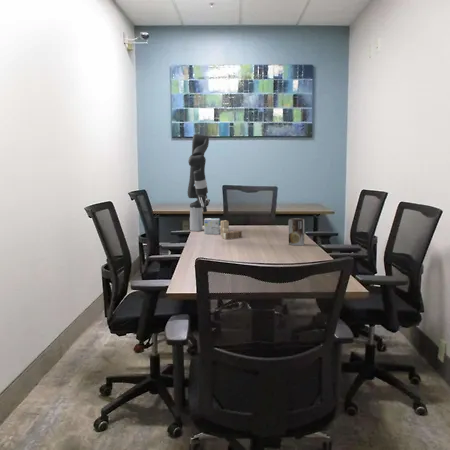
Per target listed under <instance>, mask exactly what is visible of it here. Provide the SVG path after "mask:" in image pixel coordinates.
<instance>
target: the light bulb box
mask: <svg viewBox="0 0 450 450" xmlns="http://www.w3.org/2000/svg"><path fill="white" fill-rule="evenodd" d="M203 230H204V232H203V234H204V235H220V234H221V219H220V217H217V218H215V217H212V218H210V217H209V218H208V217H207V218H204V219H203Z"/></svg>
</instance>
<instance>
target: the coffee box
mask: <svg viewBox="0 0 450 450" xmlns="http://www.w3.org/2000/svg"><path fill="white" fill-rule="evenodd" d="M305 222H306V221H305V218H301V217H300V218H299V217H295V218H294V217H293V218H292V217H290V218H289V219H288V244H287V245H288V246H304V245H305Z"/></svg>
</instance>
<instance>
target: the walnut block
mask: <svg viewBox="0 0 450 450" xmlns="http://www.w3.org/2000/svg"><path fill="white" fill-rule="evenodd" d="M238 237H239V238H242V237H243V231H242V230H232V231H229V232H223V233H222V235H221V239H222V240H230V239H231V238H232V239H238Z"/></svg>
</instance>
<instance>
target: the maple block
mask: <svg viewBox="0 0 450 450" xmlns="http://www.w3.org/2000/svg"><path fill="white" fill-rule="evenodd" d="M229 224H230V223H229V220H226V219H225V220H220V236H222V233H223V232H230V231H229V229H230V228H229Z"/></svg>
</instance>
